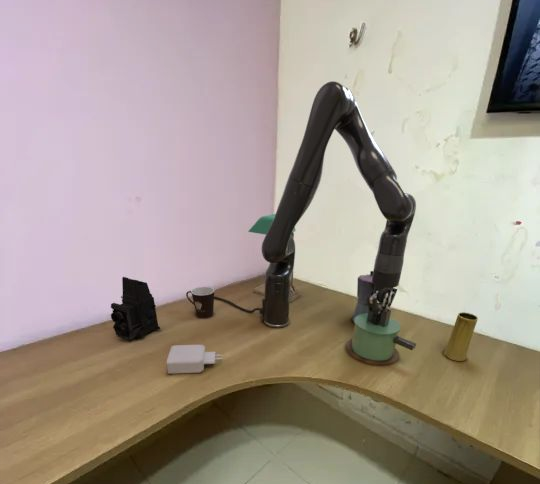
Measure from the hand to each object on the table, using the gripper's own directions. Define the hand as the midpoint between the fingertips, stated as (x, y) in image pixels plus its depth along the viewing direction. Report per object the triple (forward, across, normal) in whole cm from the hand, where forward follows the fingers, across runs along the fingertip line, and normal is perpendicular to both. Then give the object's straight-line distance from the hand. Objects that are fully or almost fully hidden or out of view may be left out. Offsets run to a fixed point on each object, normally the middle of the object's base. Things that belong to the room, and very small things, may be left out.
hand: (377, 321), depth 95 cm
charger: (+11, +46, -30) cm, 56 cm away
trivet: (+11, 0, 0) cm, 11 cm away
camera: (+11, +53, -59) cm, 80 cm away
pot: (+10, 0, +3) cm, 10 cm away
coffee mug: (+11, +27, -59) cm, 66 cm away
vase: (+11, -18, +19) cm, 28 cm away
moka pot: (+11, -16, -13) cm, 23 cm away
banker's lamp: (+11, -9, -56) cm, 57 cm away
